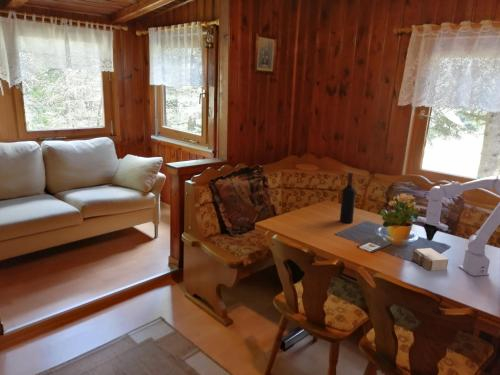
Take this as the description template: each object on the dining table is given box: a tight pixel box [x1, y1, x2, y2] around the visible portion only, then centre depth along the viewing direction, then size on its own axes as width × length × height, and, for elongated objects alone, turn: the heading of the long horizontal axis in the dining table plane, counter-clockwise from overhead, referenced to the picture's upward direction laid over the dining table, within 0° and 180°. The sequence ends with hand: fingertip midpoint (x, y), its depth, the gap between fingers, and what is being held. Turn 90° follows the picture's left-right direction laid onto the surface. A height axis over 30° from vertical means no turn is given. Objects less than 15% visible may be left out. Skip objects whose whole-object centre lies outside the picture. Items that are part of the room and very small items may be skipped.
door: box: [411, 248, 423, 266], centre depth 170 cm, size 8×1×5 cm, turn 2°
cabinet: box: [415, 247, 449, 271], centre depth 169 cm, size 12×10×5 cm
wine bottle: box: [339, 172, 356, 225], centre depth 219 cm, size 8×8×30 cm
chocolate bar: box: [356, 237, 393, 254], centre depth 189 cm, size 9×1×18 cm
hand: (429, 240), depth 172 cm, fingers closed
